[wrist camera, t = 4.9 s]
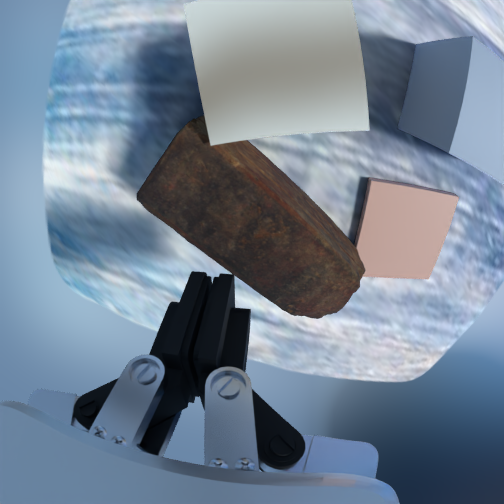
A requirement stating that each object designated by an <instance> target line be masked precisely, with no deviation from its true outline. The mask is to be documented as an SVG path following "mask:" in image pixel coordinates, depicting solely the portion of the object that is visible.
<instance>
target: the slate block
mask: <svg viewBox="0 0 504 504" xmlns="http://www.w3.org/2000/svg"><path fill="white" fill-rule="evenodd" d="M397 129H399V130H401V131H404V132H406V133H408V134H410V135H413V136H415V137H417V138H419V139H421V140H423V141H426V142H428V143H430V144H432V145H434V146H436V147H438V148H440V149H442V150H443V151H445V152H447V153H449V154H451V155H453V156H455V157H457V158H459V159H461V160H463V161H464V162H466V163H468V164H470V165H472V166H473V167H475V168H477V169H479V170H480V171H482V172H484V173H485V174H487V175H489V176H490V177H492V178H494V179H495V180H497V181H498V182H500V183H501V184H503V185H504V61H503V60H502V59H501V58H500V57H498V56H497V55H496V54H495V53H494V52H493V51H491V50H490V49H489V48H488V47H486V46H485V45H484V44H483V43H481V42H480V41H479V40H477V39H476V38H475V37H473V36H471V37H460V38H452V39H444V40H438V41H432V42H426V43H420V44H416V47H415V52H414V58H413V63H412V68H411V73H410V78H409V83H408V87H407V92H406V96H405V100H404V104H403V108H402V112H401V116H400V120H399V123H398V127H397Z"/></svg>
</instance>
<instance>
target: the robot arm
mask: <svg viewBox="0 0 504 504" xmlns="http://www.w3.org/2000/svg"><path fill="white" fill-rule="evenodd" d="M250 314H251V310H250V309H243V308H235V285H234V275H233V274H220V275H219V277H214V279H213V283H212V280H211V277H210V276H207V274H206V272H194V271H192V272H191V274H190V277H189V279H188V282H187V284H186V287H185V290H184V292H183V295H182V297H181V300H180V302H171V303H170V304H169V306H168V309H167V311H166V313H165V316H164V318H163V321H162V323H161V326H160V328H159V331H158V333H157V336H156V338H155V341H154V344H153V346H152V349H151V351H150V354H149V355H140V356H137V357H135V358H133V359H132V360H131V361H130V362H129V363H128V364H127V366H126V367H125V369H124V371H123V372H122V374H121V376H120V377H119V378H118V379H116V380H113V381H111V382H110V383H107V384H105V385H103V386H101V387H99V388H97V389H94V390H92V391H90V392H88V393H86V394H84V395H82V396H77V395H76V394H73V393H65V392H58V391H52V390H46V389H37V390H35V391H34V392H33V393H32V394H31V395H30V398H29V401H28V405H26V404H24V403H20V402H15V401H1V402H0V504H399V501H398V498H397V495H396V493H395V491H394V490H393V489H392V487H390V486H389V485H388V484H386V483H384V482H382V481H379V480H377V479H375V476H376V470H377V464H378V452H377V450H376V449H375V447H373V446H372V445H371V444H369V443H365V442H358V441H349V440H342V439H335V438H329V437H322V436H317V435H314V436H308V435H303V434H300V433H299V432H298V431H297V430H296V429H295V428H294V427H292V426H291V425H290V424H289V423H288V422H287V421H285V420H284V419H283V418H282V417H281V416H280V415H279V414H278V413H277V412H276V411H275V410H274V409H272V408H271V407H270V406H269V405H268V404H267V403H266V402H265V401H264V400H263V399H262V398H261V397H260V396H259V395H258V394H257V393H256V392H254V390H253V389H252V387H251V382H250V378H249V377H248V375H247V374H246V373H245V370H246V362H247V353H248V343H249V333H250ZM195 396H197V397H199V396H200V398H201V402H202V405H203V408H204V410H205V435H204V436H205V438H204V440H205V441H204V447H205V449H204V450H205V451H204V453H205V466H204V465H198V464H192V463H187V462H182V461H178V460H173V459H169V458H164V457H163V456H164V454H165V451H166V449H167V446H168V444H169V442H170V439H171V437H172V435H173V432H174V430H175V427H176V425H177V423H178V420H179V418H180V415H181V412H182V410H183V409H185V408H187V407H188V403H189V402H192V403H194V400H195ZM259 469H260V470H261V471H262V472H259Z"/></svg>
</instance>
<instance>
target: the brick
mask: <svg viewBox="0 0 504 504" xmlns="http://www.w3.org/2000/svg"><path fill="white" fill-rule="evenodd" d="M137 200H138V201H139V202H140V203H141V204H142V205H143V206H144V208H146V209H147V210H148V211H149V212H150V213H152V214H153V215H154V216H156V217H157V218H159V219H160V220H162V221H163V222H164V223H166V224H167V225H168V226H170V227H171V228H173V229H174V230H175V231H176V232H177V233H179V234H180V235H181V236H182V237H184V238H185V239H186V240H187V241H188V242H190V243H191V244H193V245H194V246H196V247H197V248H198V249H200V250H201V251H202V252H204V253H205V254H207V255H208V256H209V257H211V258H212V259H213V260H215V261H216V262H217V263H219V264H220V265H221V266H223V267H224V268H225V269H227V270H228V271H229V272H231V273H232V274H233V275H235V276H236V277H238V278H239V279H240V280H242V281H243V282H245V283H246V284H247V285H249V286H250V287H251V288H253V289H254V290H255V291H257V292H258V293H260V294H261V295H262V296H264V297H265V298H267V299H268V300H270V301H271V302H273V303H274V304H276V305H277V306H278V307H280V308H281V309H282V310H284V311H286V312H288V313H289V314H291V315H294V316H297V315H298V316H306V317H310V318H316V319H318V318H322V317H323V316H325V315H327V314H332V313H337V312H338V311H339V310H341V309H342V308H343V307H344V306H345V304H346V303H347V302H348V301H349V299H350V298H351V296H352V294H353V293H354V292H356V291H357V290H358V288H359V287H360V280H361V278H362V276H363V274H364V273H365V271H366V270H365V267H364V264H363V262H362V261H361V259H360V256H359V253H358V250H357V249H356V247H355V246H354V245H353V244H352V242H351V241H350V240H349V239H348V238H347V236H346V235H345V234H344V233H343V232H342V231H341V230H340V229H339V228H338V227H337V226H336V224H335V223H334V222H333V221H332V220H331V219H330V218H329V217H328V215H327V214H326V213H325V212H324V211H323V210H322V209H321V208H320V207H319V206H318V205H317V204H316V203H315V202H314V201H312V199H311V198H310V197H309V196H308V195H307V194H306V193H305V192H304V191H303V190H301V189H300V188H299V187H298V186H297V185H296V184H295V183H294V182H293V181H292V180H291V179H290V178H289V177H288V176H287V175H286V174H285V173H284V172H282V171H281V170H280V169H279V168H278V167H277V166H276V165H274V164H273V163H272V162H271V161H270V160H269V159H268V158H267V157H266V156H265V155H264V154H263V153H261V152H260V151H259V150H258V149H257V148H256V147H255V146H253V145H252V144H251V143H250V142H249V141H247V140H243V141H236V142H229V143H223V144H217V145H212V146H211V145H210V140H209V135H208V131H207V126H206V121H205V116H204V115H203V116H200V117H198V118H196V119H195V118H194V119H193V120H192V121H189V122H188V123H187V124H186V125H185V126H184V127H183V128H182V129H181V130H180V131H179V132H178V133H177V134H176V136H175V137H174V139H173V140H172V142H171V143H170V145H169V146H168V148H167V149H166V151H165V152H164V154H163V155H162V157H161V158H160V159H159V161H158V162H157V164H156V165H155V167H154V168H153V170H152V171H151V173H150V174H149V176H148V177H147V179H146V181H145V182H144V184H143V185H142V187H141V188H140V190H139V191H138V193H137Z"/></svg>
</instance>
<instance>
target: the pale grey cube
mask: <svg viewBox="0 0 504 504" xmlns="http://www.w3.org/2000/svg"><path fill="white" fill-rule="evenodd" d="M184 10H185V16H186V21H187V27H188V32H189V38H190V43H191V49H192V54H193V59H194V65H195V70H196V75H197V80H198V86H199V91H200V96H201V101H202V106H203V111H204V116H205V121H206V126H207V131H208V135H209V140H210V145H211V146H212V145H217V144H223V143H229V142H236V141H243V140H250V139H257V138H265V137H274V136H283V135H294V134H306V133H320V132H340V131H369V114H368V101H367V90H366V80H365V72H364V64H363V57H362V50H361V44H360V38H359V33H358V27H357V22H356V17H355V13H354V8H353V4H352V0H197V1H193V2H190V3H186V4H184Z"/></svg>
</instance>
